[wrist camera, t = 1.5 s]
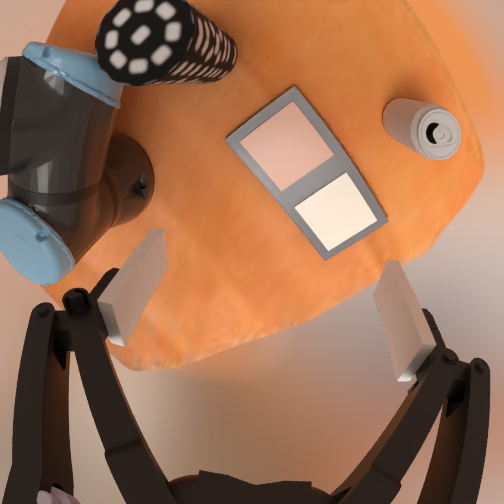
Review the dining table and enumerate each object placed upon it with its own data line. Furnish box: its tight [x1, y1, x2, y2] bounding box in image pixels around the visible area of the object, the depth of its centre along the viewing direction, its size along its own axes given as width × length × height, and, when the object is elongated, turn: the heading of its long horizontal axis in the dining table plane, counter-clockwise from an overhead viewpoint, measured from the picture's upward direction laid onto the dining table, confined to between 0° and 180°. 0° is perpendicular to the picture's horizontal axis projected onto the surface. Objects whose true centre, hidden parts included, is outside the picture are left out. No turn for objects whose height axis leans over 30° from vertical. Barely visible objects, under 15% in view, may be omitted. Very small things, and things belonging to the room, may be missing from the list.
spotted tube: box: [95, 0, 237, 86], centre depth 24 cm, size 8×8×20 cm
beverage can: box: [383, 98, 461, 160], centre depth 29 cm, size 6×6×12 cm
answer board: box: [225, 86, 389, 261], centre depth 40 cm, size 24×12×2 cm, turn 40°
